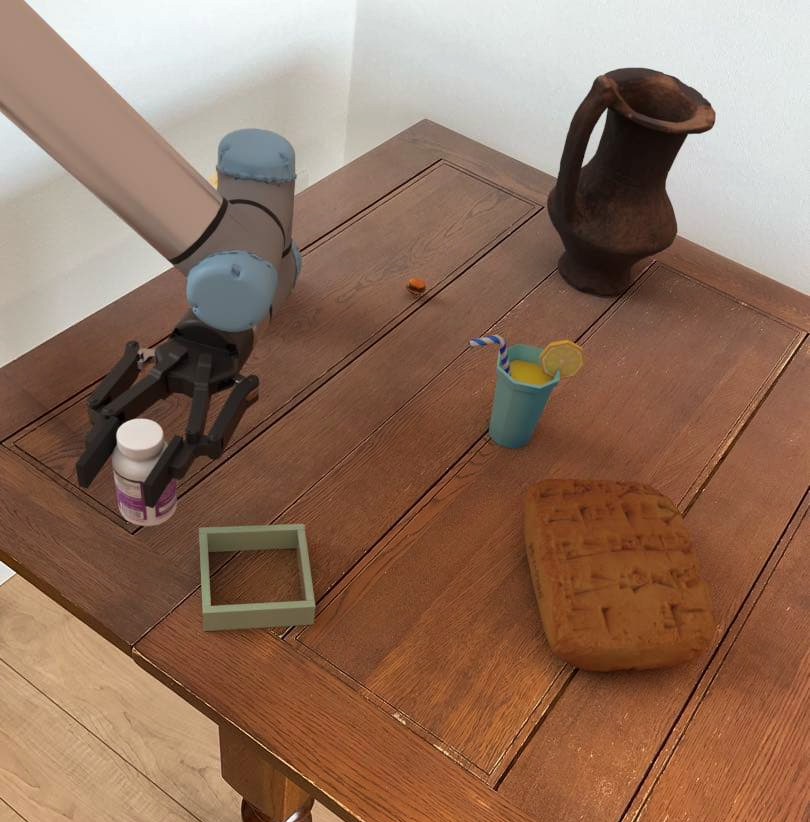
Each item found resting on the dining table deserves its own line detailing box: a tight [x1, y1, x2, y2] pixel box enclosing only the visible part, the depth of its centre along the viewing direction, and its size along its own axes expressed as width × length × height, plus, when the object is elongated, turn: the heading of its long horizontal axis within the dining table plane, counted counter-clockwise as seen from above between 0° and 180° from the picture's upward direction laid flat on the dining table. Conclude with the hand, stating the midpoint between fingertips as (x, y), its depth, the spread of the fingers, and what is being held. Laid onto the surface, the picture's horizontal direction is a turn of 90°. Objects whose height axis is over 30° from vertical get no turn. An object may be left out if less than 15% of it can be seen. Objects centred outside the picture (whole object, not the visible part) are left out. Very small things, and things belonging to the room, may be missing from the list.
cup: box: [468, 334, 586, 450], centre depth 111 cm, size 14×8×15 cm, turn 104°
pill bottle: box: [111, 418, 178, 527], centre depth 88 cm, size 5×5×10 cm
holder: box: [198, 523, 317, 632], centre depth 96 cm, size 11×11×3 cm
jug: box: [546, 67, 717, 298], centre depth 131 cm, size 21×18×30 cm
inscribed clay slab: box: [522, 478, 718, 672], centre depth 99 cm, size 22×17×8 cm
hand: (114, 486), depth 82 cm, fingers closed on pill bottle, 5 cm apart
